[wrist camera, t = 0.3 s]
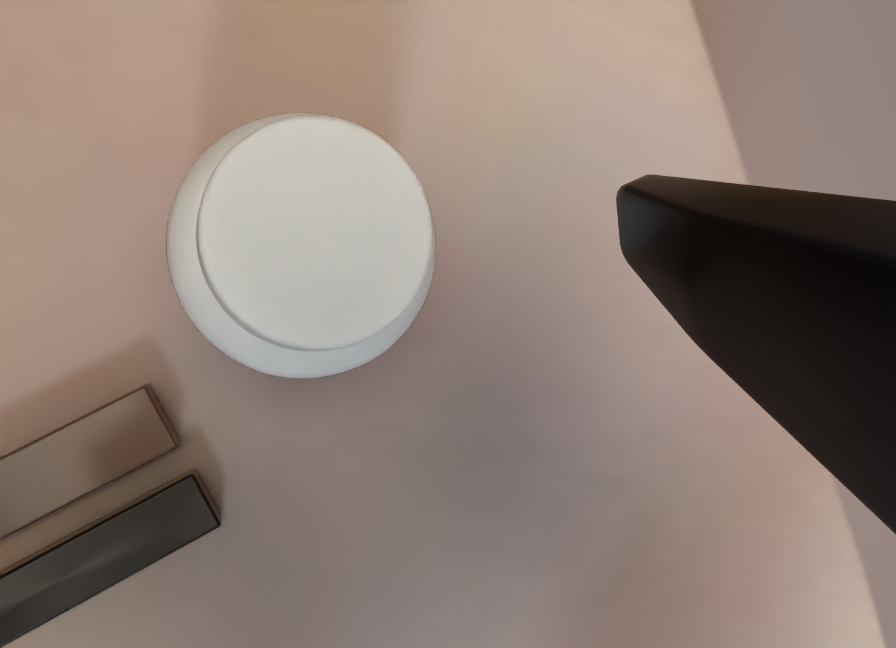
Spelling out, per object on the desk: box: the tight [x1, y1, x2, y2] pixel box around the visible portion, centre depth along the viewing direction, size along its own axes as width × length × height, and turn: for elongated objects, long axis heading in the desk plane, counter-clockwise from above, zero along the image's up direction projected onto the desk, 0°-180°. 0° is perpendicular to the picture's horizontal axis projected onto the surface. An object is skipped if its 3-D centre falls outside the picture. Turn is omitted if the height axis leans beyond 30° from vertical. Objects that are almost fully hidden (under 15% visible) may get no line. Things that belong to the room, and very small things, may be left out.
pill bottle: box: [166, 113, 436, 379], centre depth 19 cm, size 5×5×10 cm
